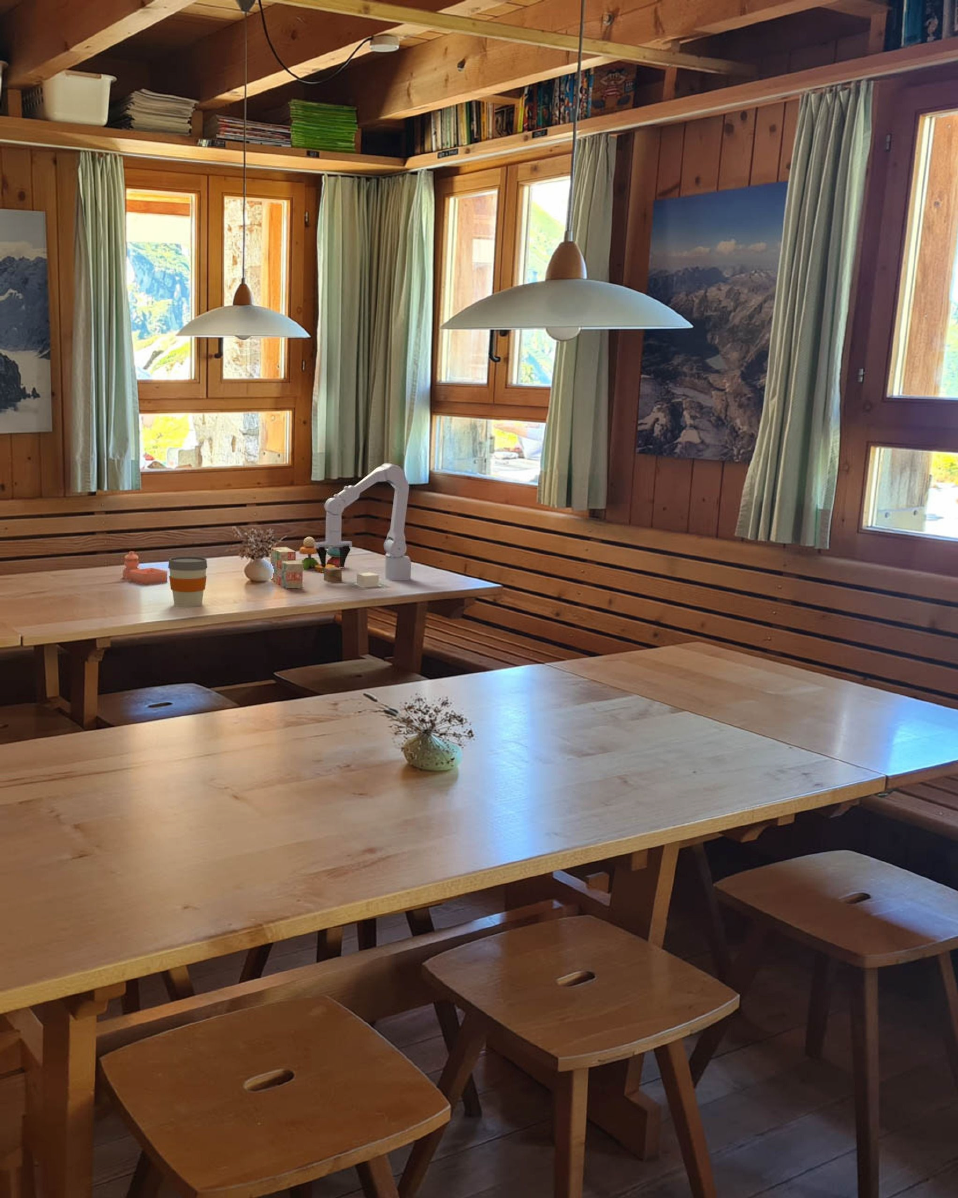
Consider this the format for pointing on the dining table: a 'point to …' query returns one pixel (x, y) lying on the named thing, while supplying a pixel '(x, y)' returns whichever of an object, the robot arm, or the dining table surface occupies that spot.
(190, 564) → the reusable coffee cup
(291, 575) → the stack of blocks
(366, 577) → the base block
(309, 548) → the wooden stacking toy
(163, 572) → the pottery
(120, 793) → the dining table surface
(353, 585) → the clear glass plate
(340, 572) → the walnut block
